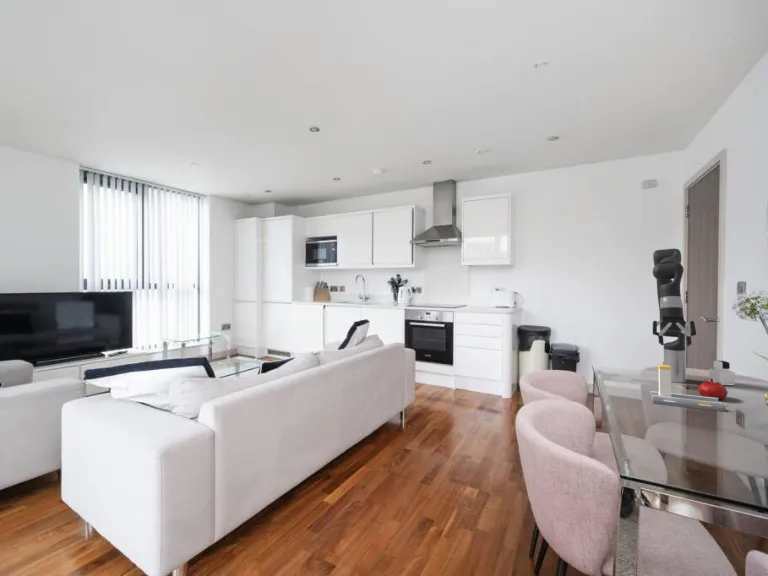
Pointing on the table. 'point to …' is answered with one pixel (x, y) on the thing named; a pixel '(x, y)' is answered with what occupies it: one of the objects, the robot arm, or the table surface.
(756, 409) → the table surface
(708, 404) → the switch plate
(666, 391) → the switch tab
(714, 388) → the red round fruit
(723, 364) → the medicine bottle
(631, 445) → the table surface
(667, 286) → the robot arm
